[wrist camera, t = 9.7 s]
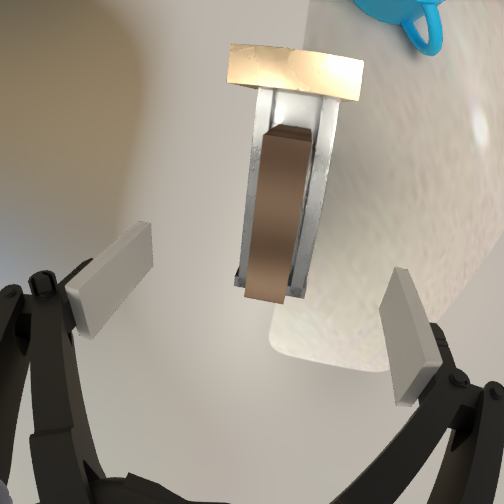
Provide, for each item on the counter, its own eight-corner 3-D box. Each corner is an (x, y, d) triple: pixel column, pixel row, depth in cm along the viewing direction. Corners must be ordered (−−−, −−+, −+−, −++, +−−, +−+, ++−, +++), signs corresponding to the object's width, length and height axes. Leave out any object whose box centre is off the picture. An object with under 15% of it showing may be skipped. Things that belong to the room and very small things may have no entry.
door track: (261, 65, 25) (230, 43, 15) (342, 77, 25) (363, 61, 14) (239, 272, 36) (209, 345, 25) (304, 284, 35) (298, 363, 24)
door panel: (278, 123, 27) (263, 134, 18) (311, 129, 27) (311, 142, 18) (263, 241, 33) (244, 297, 24) (292, 246, 33) (283, 304, 24)
